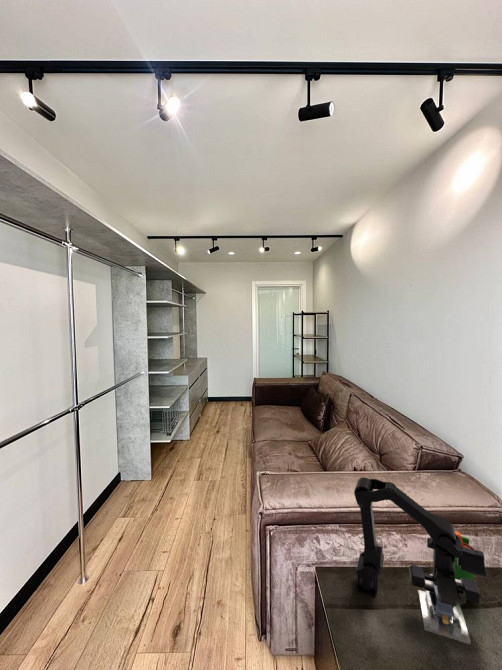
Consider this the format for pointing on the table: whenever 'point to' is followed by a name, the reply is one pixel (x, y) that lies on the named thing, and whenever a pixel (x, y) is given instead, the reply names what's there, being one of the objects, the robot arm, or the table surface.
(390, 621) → the table surface
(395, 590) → the table surface
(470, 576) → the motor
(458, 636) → the chassis
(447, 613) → the block
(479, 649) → the table surface
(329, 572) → the table surface
